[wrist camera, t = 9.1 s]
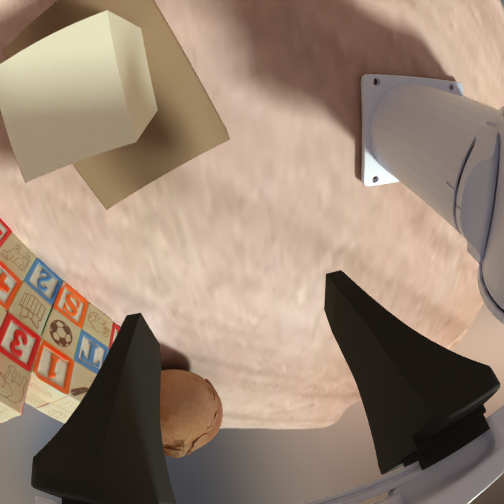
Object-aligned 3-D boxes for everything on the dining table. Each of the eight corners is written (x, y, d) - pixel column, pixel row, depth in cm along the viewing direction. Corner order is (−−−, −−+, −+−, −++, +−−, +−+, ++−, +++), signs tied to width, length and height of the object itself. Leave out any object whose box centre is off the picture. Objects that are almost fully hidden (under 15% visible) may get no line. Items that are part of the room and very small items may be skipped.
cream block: (140, 28, 10) (107, 10, 6) (157, 110, 13) (135, 142, 8) (58, 59, 10) (-9, 70, 5) (77, 136, 13) (25, 182, 8)
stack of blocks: (139, 336, 26) (134, 461, 17) (101, 357, 27) (90, 465, 18) (-33, 176, 14) (-130, 284, 4) (-54, 222, 15) (-124, 324, 5)
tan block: (136, -30, 10) (125, -44, 7) (225, 126, 17) (230, 139, 15) (28, 49, 11) (3, 51, 8) (117, 188, 18) (106, 210, 16)
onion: (162, 396, 34) (165, 469, 26) (115, 360, 28) (108, 447, 20) (230, 378, 33) (243, 457, 25) (191, 337, 27) (198, 437, 19)
